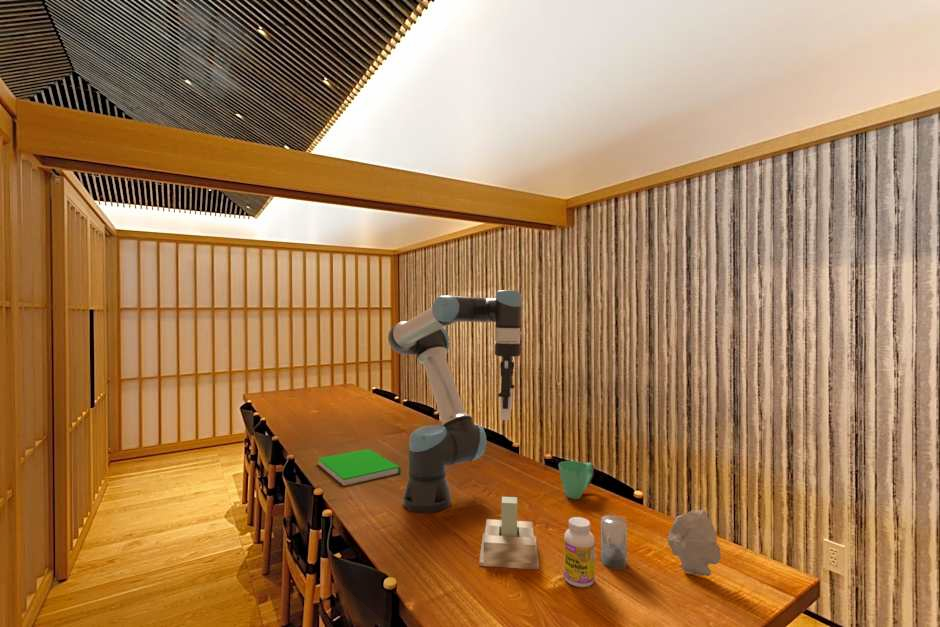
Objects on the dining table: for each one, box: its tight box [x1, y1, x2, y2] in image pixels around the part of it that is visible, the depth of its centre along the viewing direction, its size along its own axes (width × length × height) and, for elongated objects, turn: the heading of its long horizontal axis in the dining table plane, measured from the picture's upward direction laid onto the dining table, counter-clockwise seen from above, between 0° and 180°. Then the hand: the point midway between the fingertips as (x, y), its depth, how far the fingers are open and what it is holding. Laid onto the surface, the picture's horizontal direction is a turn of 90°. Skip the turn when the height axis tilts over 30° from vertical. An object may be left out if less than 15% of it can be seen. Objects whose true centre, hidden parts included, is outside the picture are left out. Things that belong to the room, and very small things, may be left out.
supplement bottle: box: [563, 516, 596, 588], centre depth 95 cm, size 7×7×13 cm
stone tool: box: [667, 509, 722, 577], centre depth 97 cm, size 11×4×15 cm, turn 51°
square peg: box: [501, 496, 518, 537], centre depth 106 cm, size 4×4×12 cm
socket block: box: [478, 518, 540, 570], centre depth 106 cm, size 14×14×5 cm
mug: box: [558, 460, 595, 500], centre depth 143 cm, size 15×10×10 cm
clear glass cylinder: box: [600, 514, 628, 571], centre depth 102 cm, size 6×6×10 cm
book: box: [317, 448, 402, 486], centre depth 165 cm, size 22×28×3 cm
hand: (506, 414), depth 125 cm, fingers open, 13 cm apart
